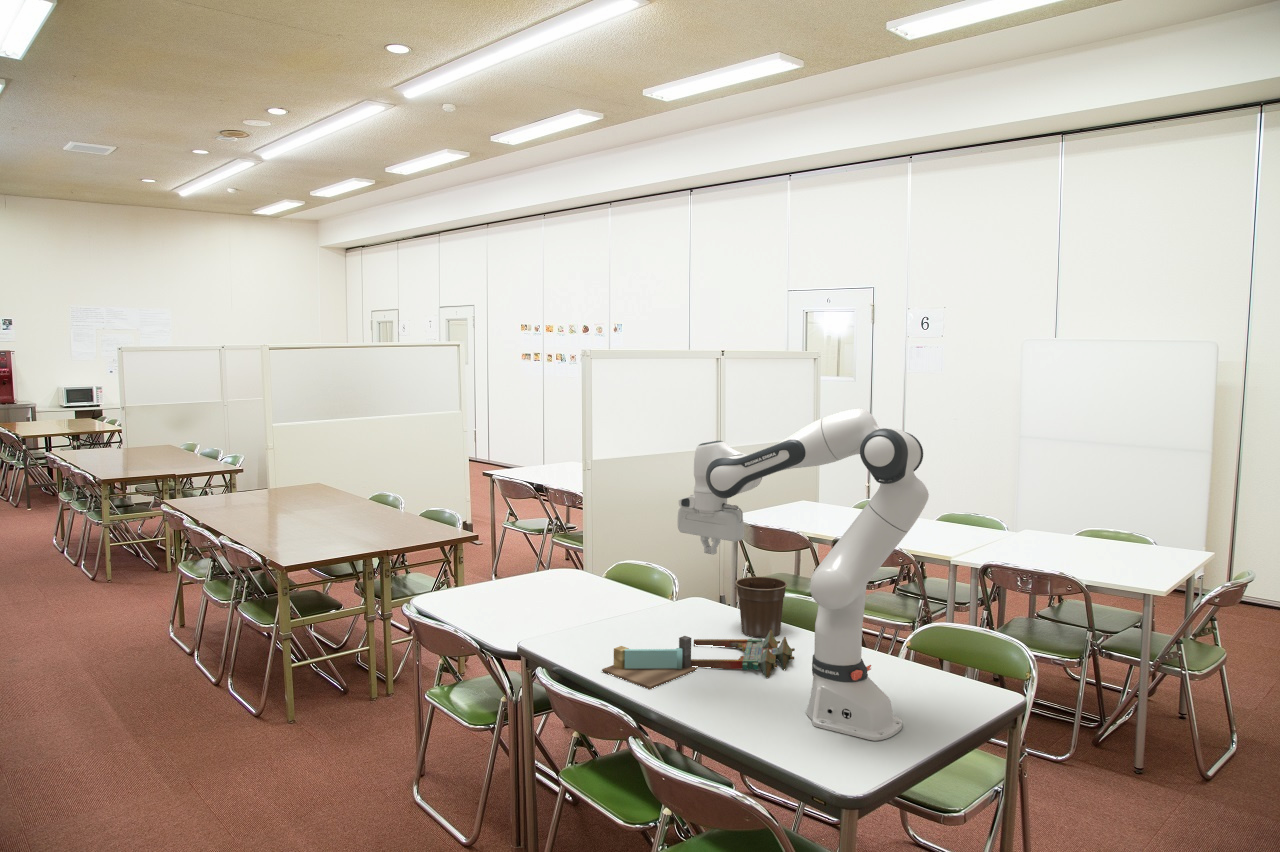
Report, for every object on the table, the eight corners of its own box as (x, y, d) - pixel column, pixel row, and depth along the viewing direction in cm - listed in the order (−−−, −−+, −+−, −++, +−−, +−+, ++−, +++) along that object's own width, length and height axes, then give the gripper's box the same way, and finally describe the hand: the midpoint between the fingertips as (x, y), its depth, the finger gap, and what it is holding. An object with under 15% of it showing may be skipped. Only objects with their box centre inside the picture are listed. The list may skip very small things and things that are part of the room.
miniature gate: (695, 629, 256) (794, 629, 250) (696, 647, 256) (795, 647, 250) (682, 659, 230) (792, 660, 224) (683, 679, 230) (794, 680, 224)
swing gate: (682, 669, 229) (682, 650, 228) (624, 669, 228) (624, 650, 228) (682, 667, 231) (682, 647, 230) (624, 667, 230) (624, 648, 230)
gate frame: (696, 670, 231) (697, 638, 230) (649, 689, 217) (650, 655, 216) (649, 654, 243) (649, 624, 242) (602, 671, 229) (602, 639, 229)
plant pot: (723, 631, 265) (724, 581, 264) (756, 621, 276) (757, 573, 275) (763, 644, 253) (764, 592, 252) (796, 633, 264) (797, 583, 263)
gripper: (749, 504, 215) (749, 557, 216) (688, 496, 229) (689, 546, 230) (734, 507, 211) (734, 561, 212) (673, 499, 225) (674, 550, 226)
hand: (710, 553), depth 221 cm, fingers closed
